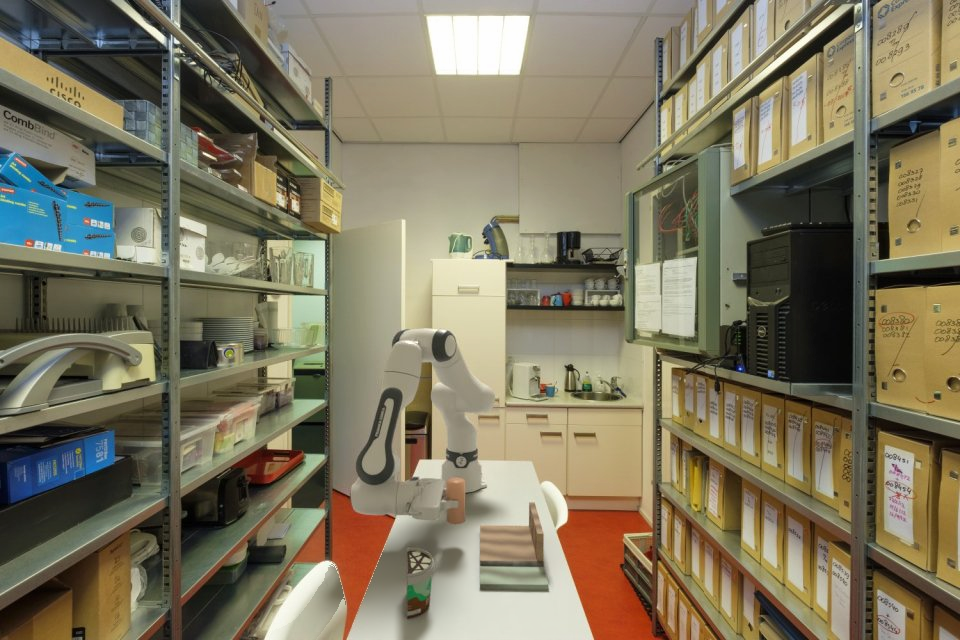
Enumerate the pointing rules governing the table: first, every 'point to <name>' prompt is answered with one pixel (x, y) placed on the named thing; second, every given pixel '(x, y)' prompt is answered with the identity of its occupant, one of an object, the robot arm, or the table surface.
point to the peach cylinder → (455, 491)
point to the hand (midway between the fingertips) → (459, 498)
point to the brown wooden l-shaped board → (513, 555)
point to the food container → (418, 581)
